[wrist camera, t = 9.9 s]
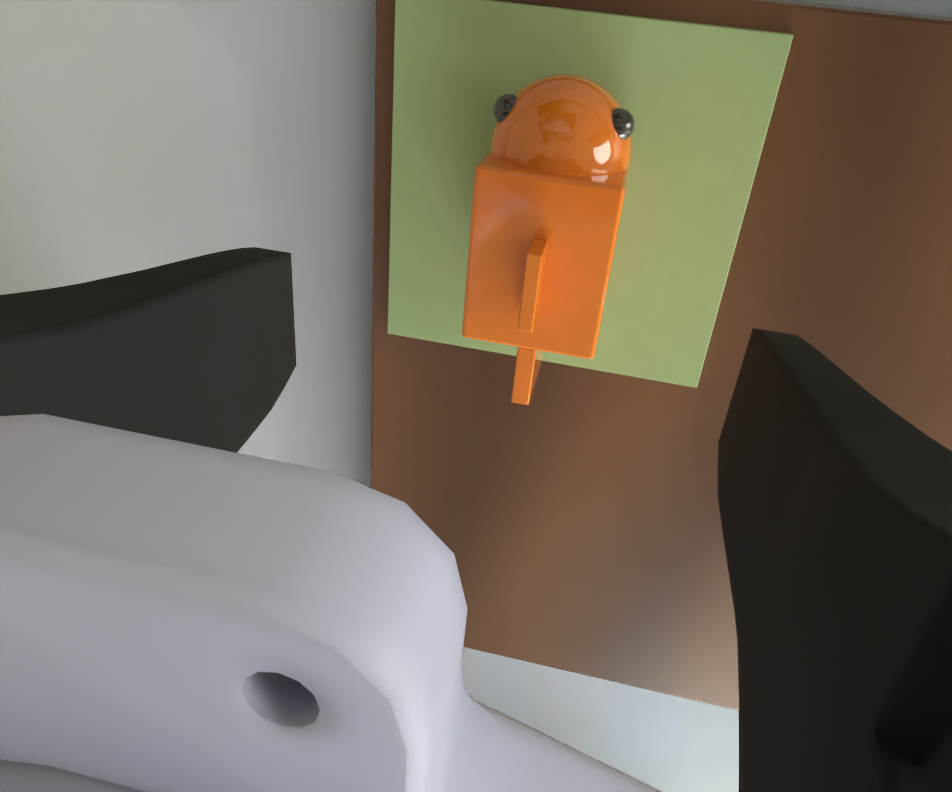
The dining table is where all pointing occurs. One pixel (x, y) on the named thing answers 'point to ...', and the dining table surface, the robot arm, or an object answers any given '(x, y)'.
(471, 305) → the goldfish
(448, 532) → the board
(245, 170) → the dining table surface
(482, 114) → the corner pad
